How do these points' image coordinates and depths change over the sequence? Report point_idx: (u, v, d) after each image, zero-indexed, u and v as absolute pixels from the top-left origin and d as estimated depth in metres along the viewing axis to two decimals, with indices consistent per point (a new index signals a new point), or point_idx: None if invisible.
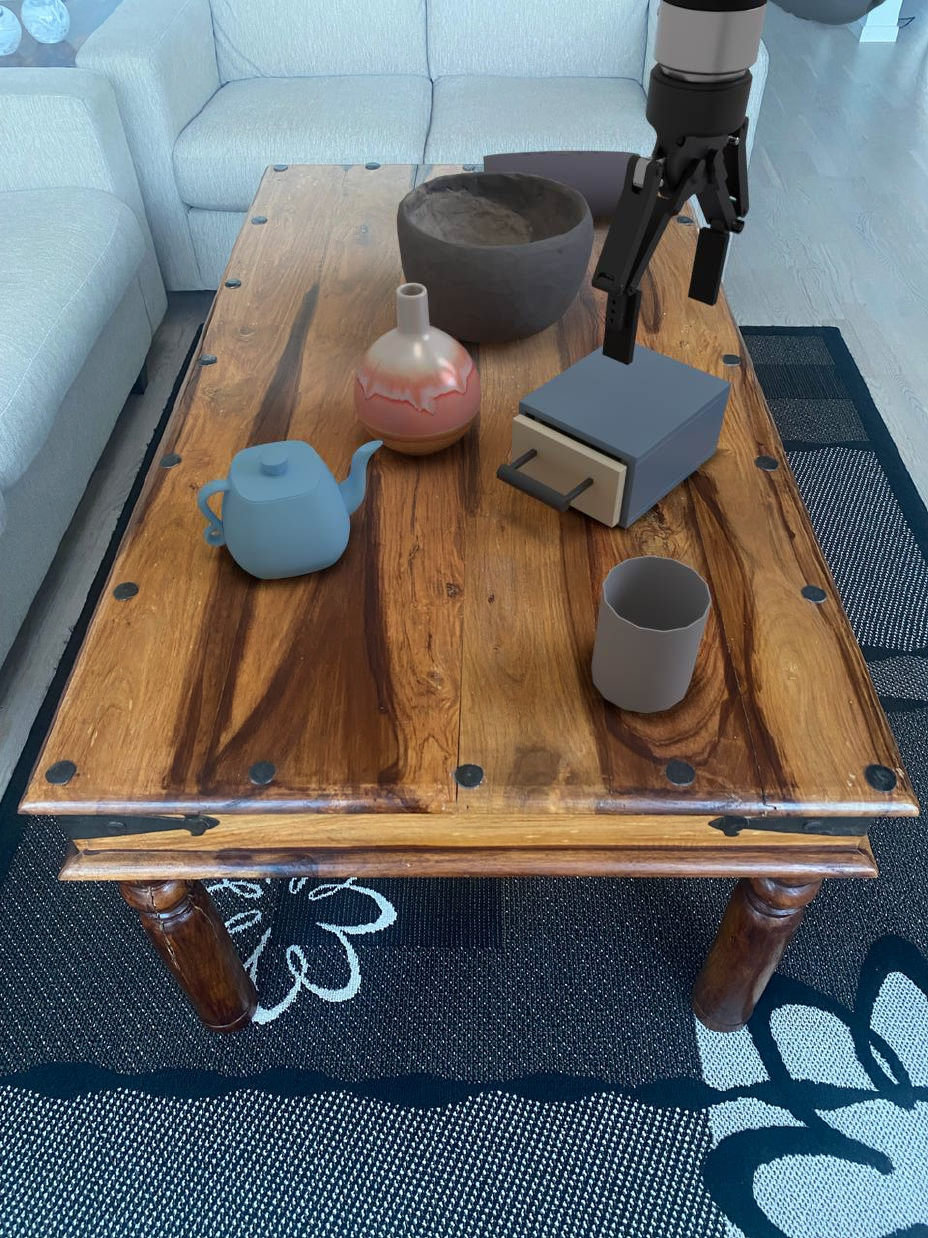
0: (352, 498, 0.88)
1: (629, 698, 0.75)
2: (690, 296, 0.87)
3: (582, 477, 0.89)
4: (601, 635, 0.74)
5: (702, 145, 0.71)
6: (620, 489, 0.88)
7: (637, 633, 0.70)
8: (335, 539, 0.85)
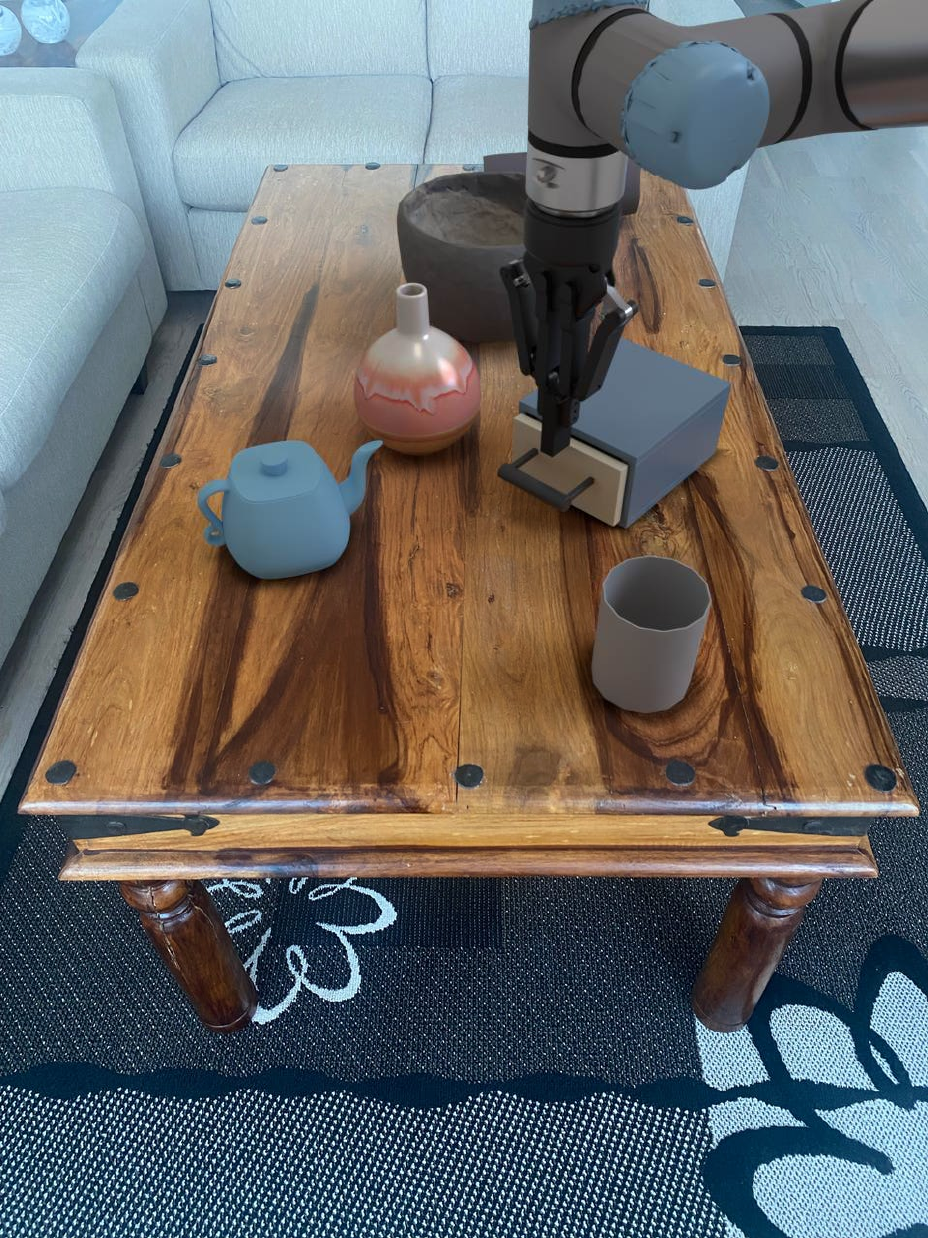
0: (352, 498, 0.88)
1: (629, 698, 0.75)
2: None
3: (583, 476, 0.90)
4: (601, 635, 0.74)
5: None
6: (621, 488, 0.88)
7: (637, 633, 0.70)
8: (335, 539, 0.85)
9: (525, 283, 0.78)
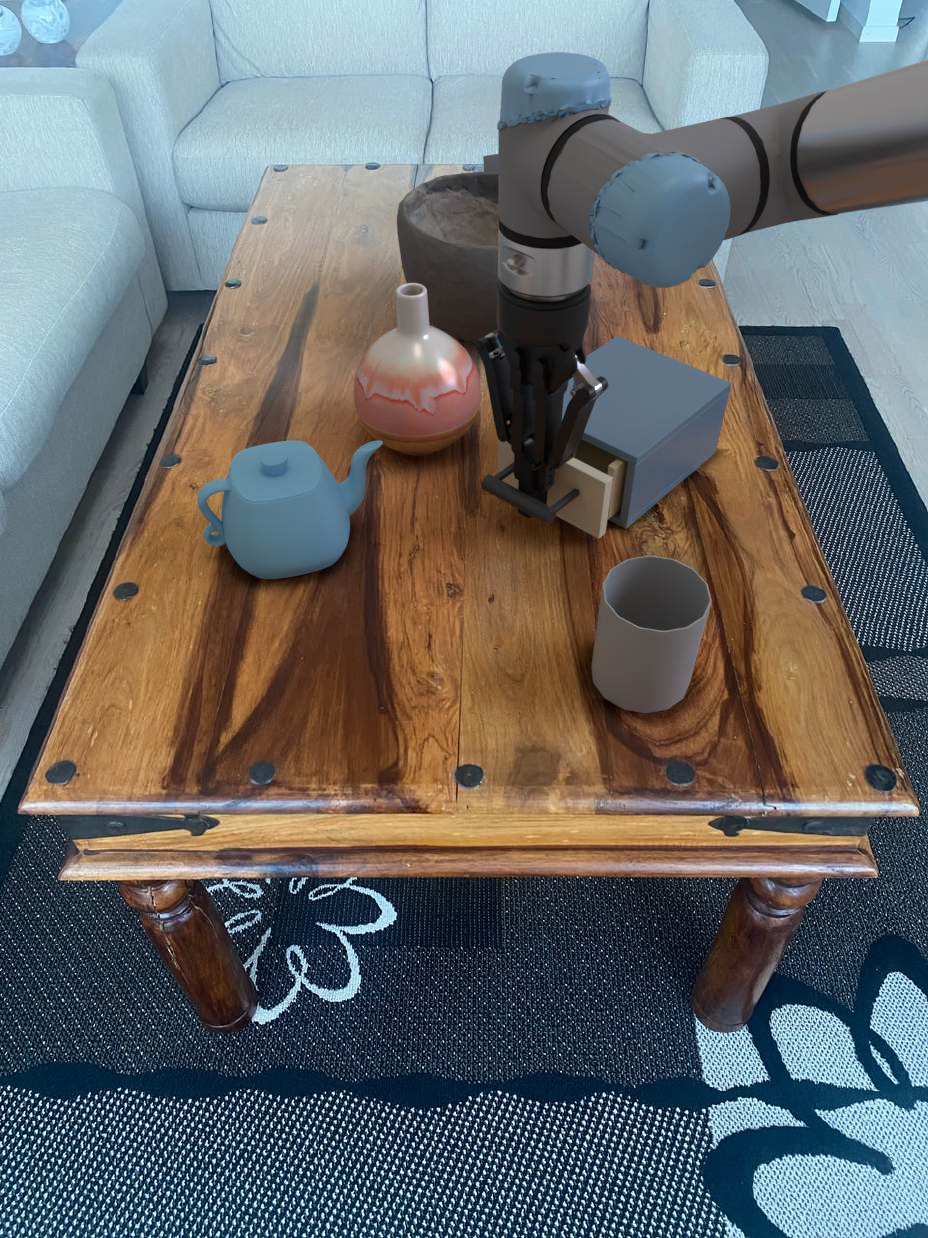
0: (352, 498, 0.88)
1: (629, 698, 0.75)
2: (525, 513, 0.90)
3: (568, 487, 0.88)
4: (601, 635, 0.74)
5: None
6: (606, 500, 0.87)
7: (637, 633, 0.70)
8: (335, 539, 0.85)
9: (500, 356, 0.81)
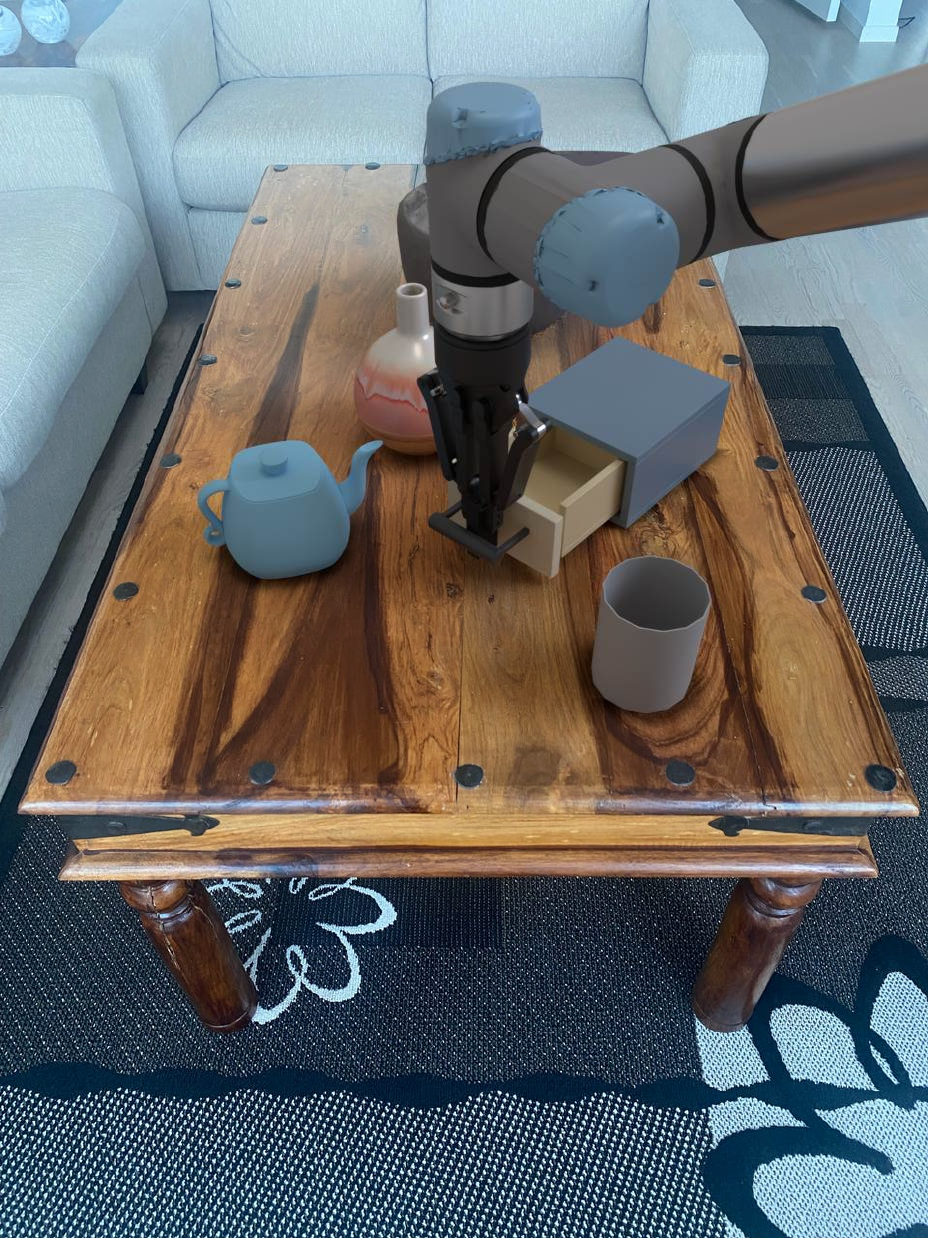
0: (352, 498, 0.88)
1: (629, 698, 0.75)
2: None
3: (519, 526, 0.85)
4: (601, 635, 0.74)
5: None
6: (557, 540, 0.83)
7: (637, 633, 0.70)
8: (335, 539, 0.85)
9: (442, 393, 0.77)
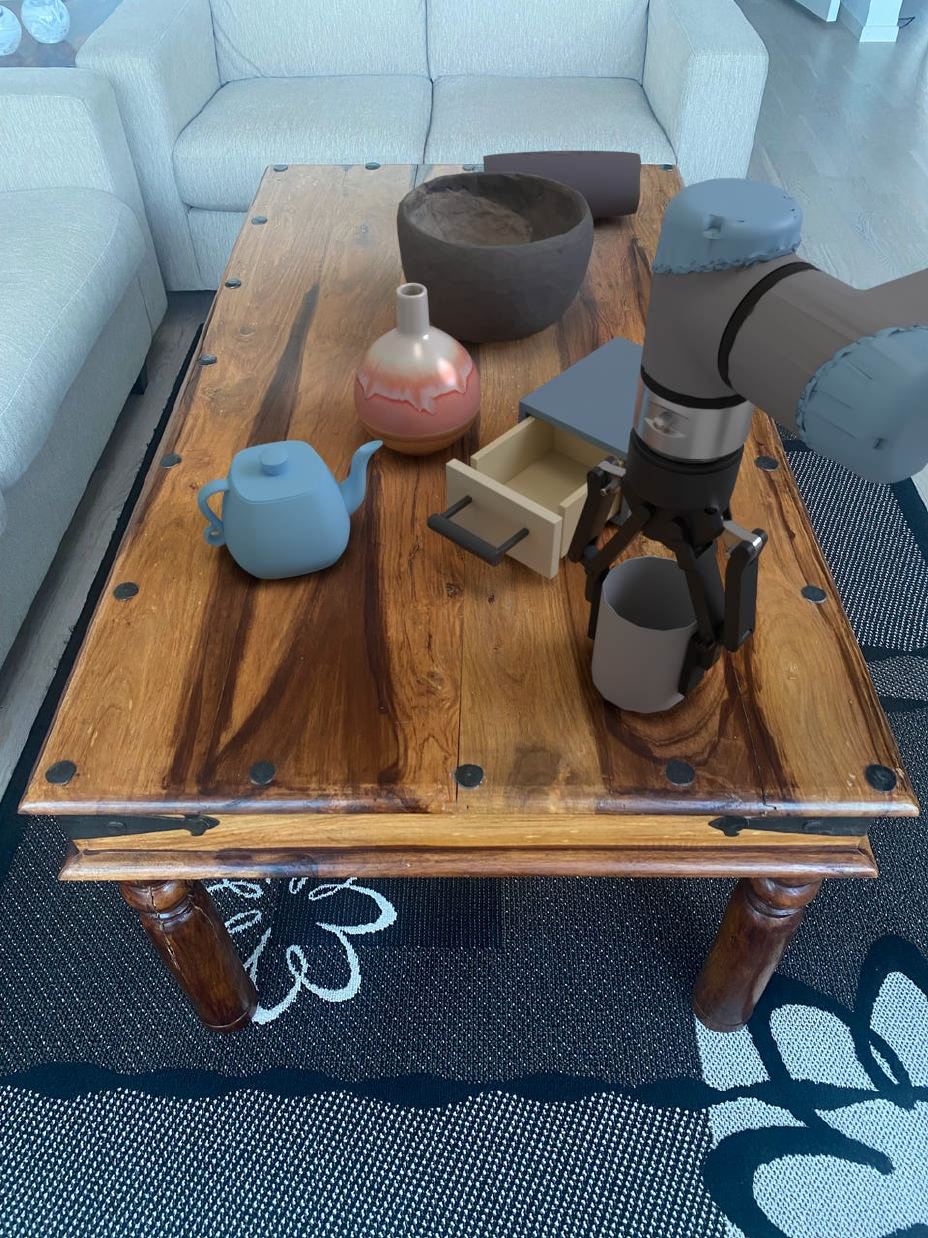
0: (352, 498, 0.88)
1: (629, 698, 0.75)
2: None
3: (518, 526, 0.85)
4: (601, 635, 0.74)
5: None
6: (556, 541, 0.83)
7: (637, 633, 0.70)
8: (335, 539, 0.85)
9: (611, 493, 0.68)
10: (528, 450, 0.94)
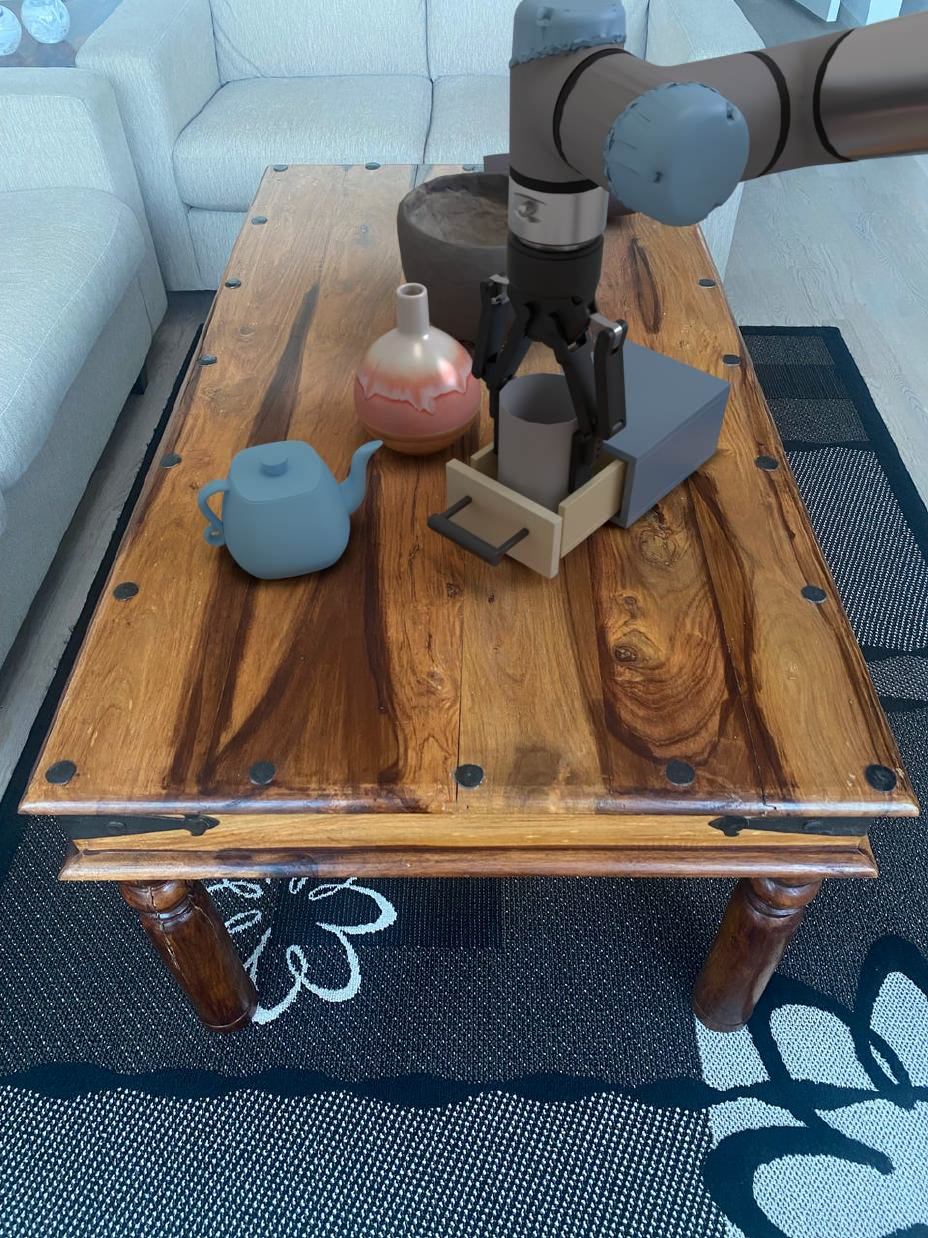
0: (352, 498, 0.88)
1: None
2: None
3: (518, 526, 0.85)
4: (500, 440, 0.84)
5: None
6: (556, 541, 0.83)
7: (526, 428, 0.80)
8: (335, 539, 0.85)
9: (501, 303, 0.79)
10: None
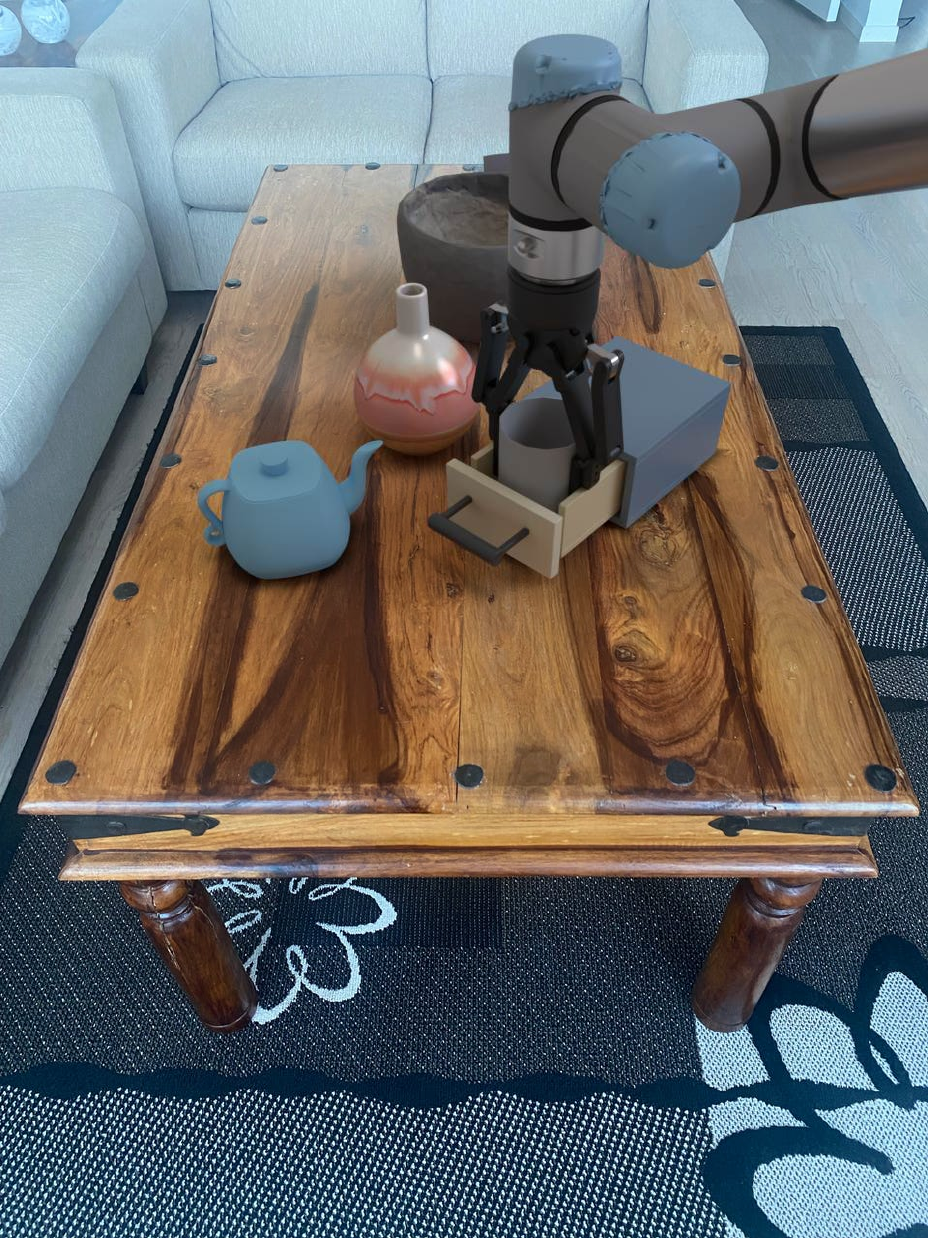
0: (352, 498, 0.88)
1: None
2: None
3: (518, 526, 0.85)
4: (500, 463, 0.86)
5: None
6: (557, 541, 0.83)
7: (525, 453, 0.82)
8: (335, 539, 0.85)
9: (501, 332, 0.81)
10: None
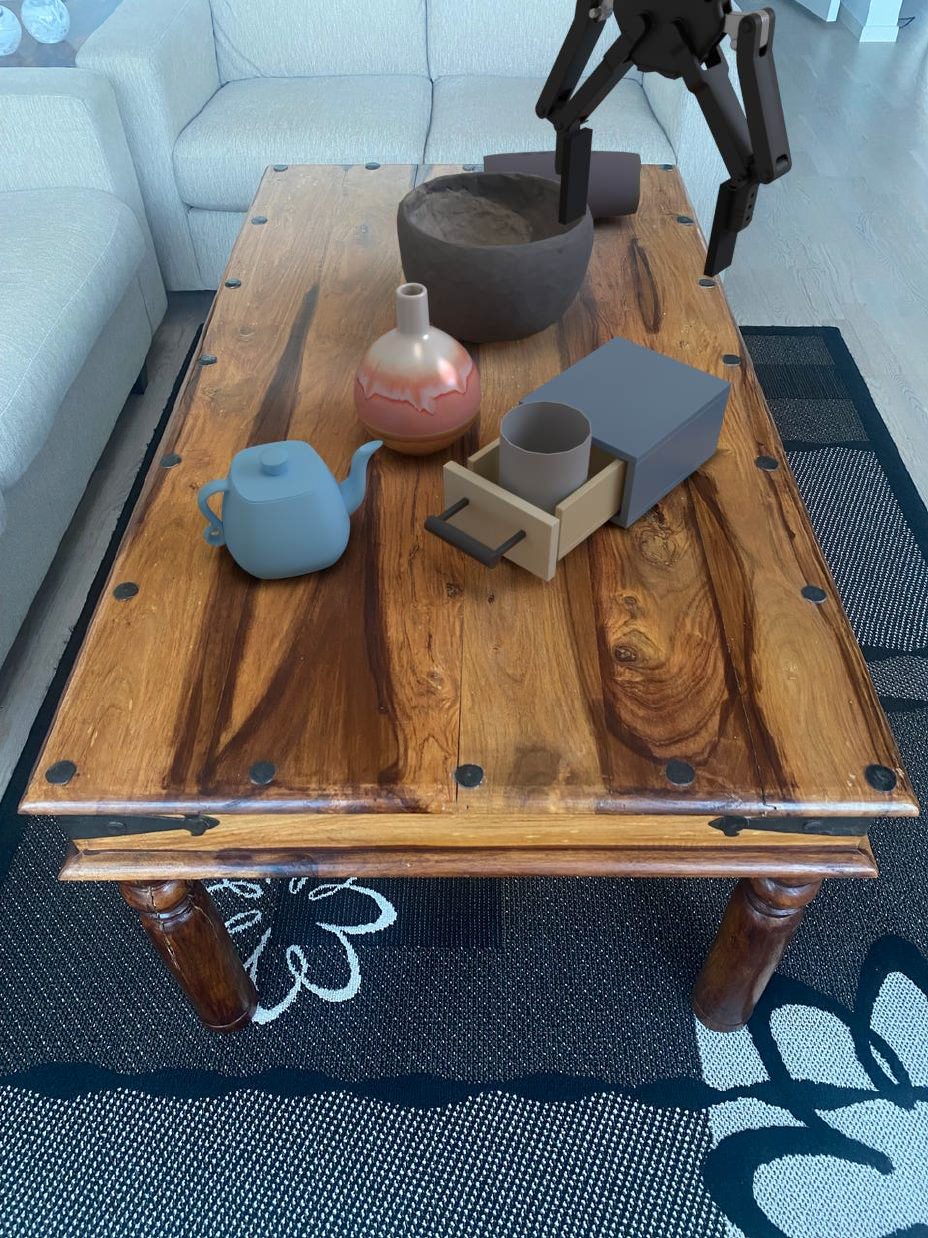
0: (352, 498, 0.88)
1: None
2: (568, 222, 0.74)
3: (515, 529, 0.84)
4: (500, 467, 0.86)
5: None
6: (553, 543, 0.83)
7: (526, 457, 0.81)
8: (335, 539, 0.85)
9: (600, 19, 0.64)
10: None
